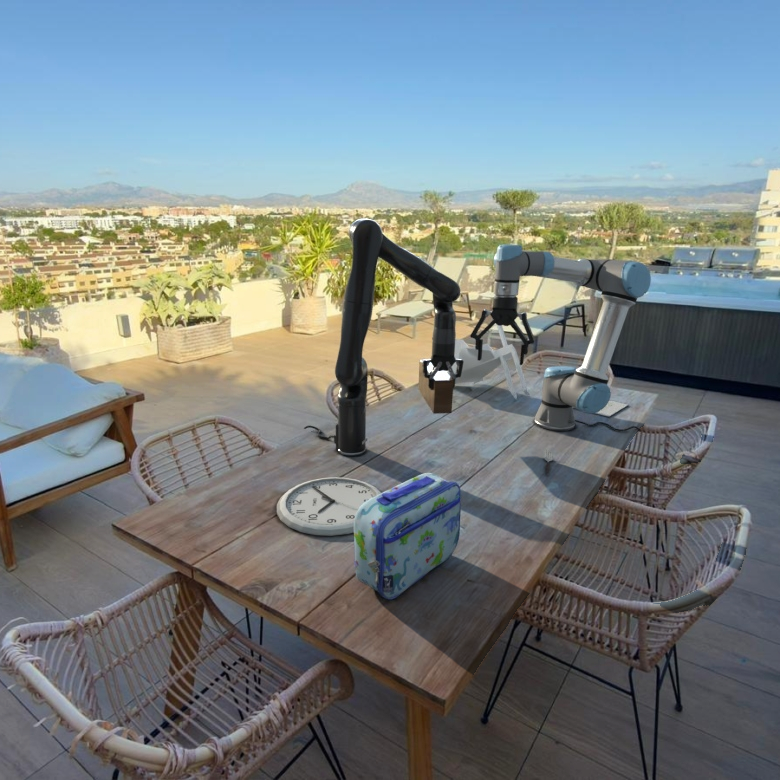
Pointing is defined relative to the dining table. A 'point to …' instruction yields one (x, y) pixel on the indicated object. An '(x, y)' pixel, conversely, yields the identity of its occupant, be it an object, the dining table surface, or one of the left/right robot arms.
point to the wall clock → (324, 505)
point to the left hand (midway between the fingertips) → (441, 389)
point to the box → (437, 390)
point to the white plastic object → (487, 362)
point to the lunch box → (406, 533)
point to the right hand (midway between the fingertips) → (500, 361)
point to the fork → (548, 460)
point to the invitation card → (611, 408)
